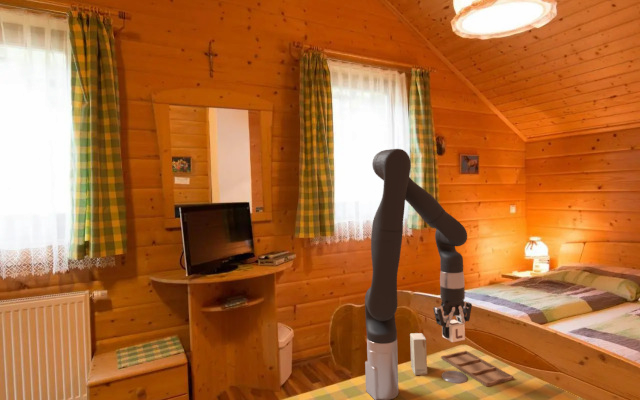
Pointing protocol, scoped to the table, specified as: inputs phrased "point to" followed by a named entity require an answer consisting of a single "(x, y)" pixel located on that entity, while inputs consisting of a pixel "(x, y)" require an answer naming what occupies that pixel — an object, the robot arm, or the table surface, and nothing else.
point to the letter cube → (456, 331)
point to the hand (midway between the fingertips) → (453, 335)
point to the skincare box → (418, 353)
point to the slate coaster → (454, 376)
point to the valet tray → (477, 368)
